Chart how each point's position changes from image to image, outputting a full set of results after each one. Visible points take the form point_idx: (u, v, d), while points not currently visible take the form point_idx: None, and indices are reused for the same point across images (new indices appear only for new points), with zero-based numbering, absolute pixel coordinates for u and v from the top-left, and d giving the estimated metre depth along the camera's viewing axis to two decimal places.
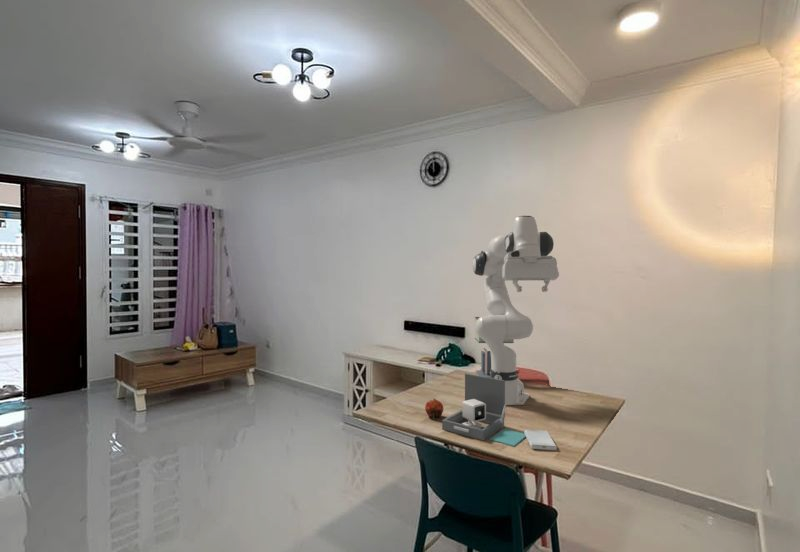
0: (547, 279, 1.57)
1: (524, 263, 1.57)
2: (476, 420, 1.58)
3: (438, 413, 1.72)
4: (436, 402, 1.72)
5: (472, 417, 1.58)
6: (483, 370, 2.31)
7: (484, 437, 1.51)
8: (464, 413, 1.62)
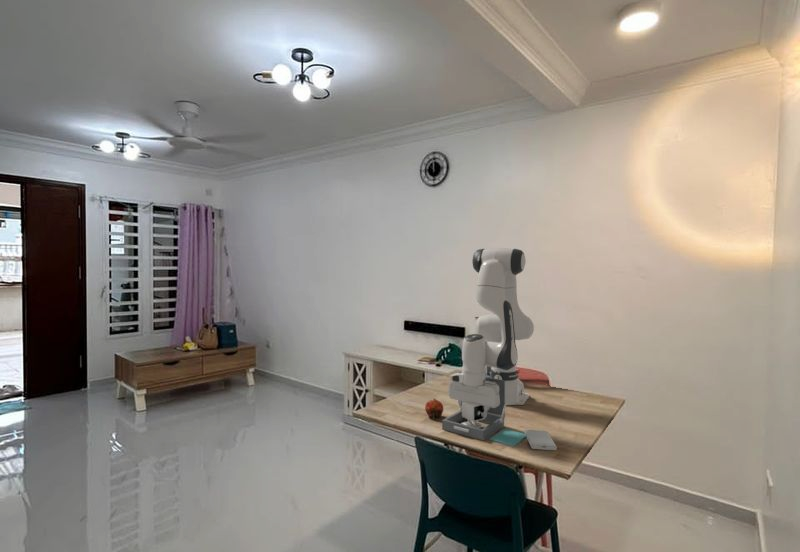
0: (485, 406, 1.58)
1: (465, 387, 1.62)
2: (475, 420, 1.58)
3: (438, 413, 1.72)
4: (436, 402, 1.72)
5: (471, 417, 1.58)
6: None
7: (484, 437, 1.51)
8: (463, 413, 1.62)
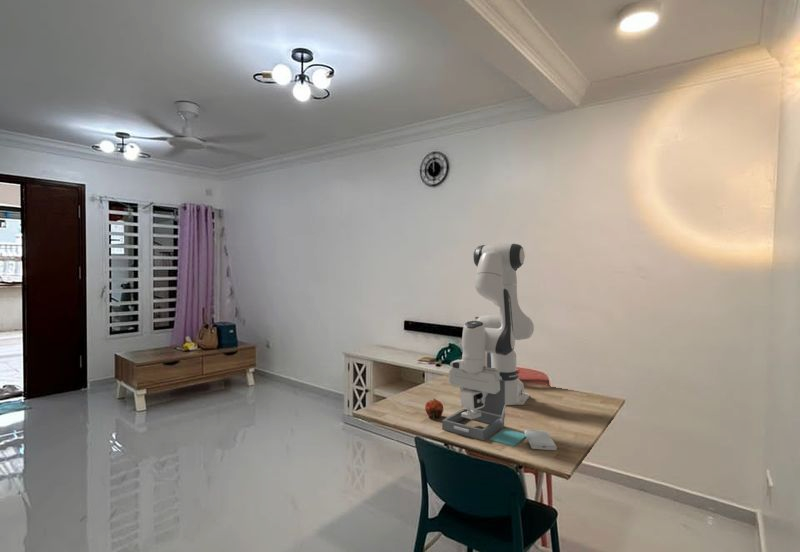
0: (483, 392, 1.59)
1: (466, 374, 1.62)
2: (475, 408, 1.59)
3: (438, 413, 1.72)
4: (436, 402, 1.72)
5: (471, 405, 1.58)
6: None
7: (484, 437, 1.51)
8: (463, 402, 1.62)
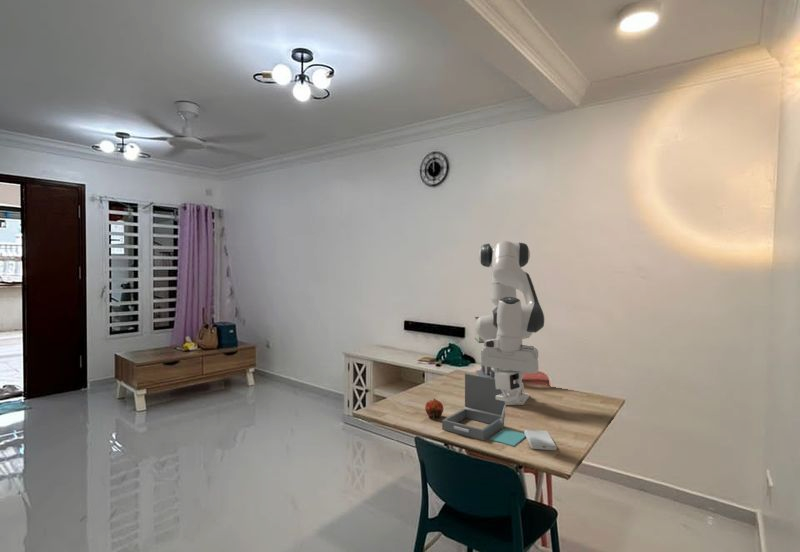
0: (520, 372, 1.49)
1: (501, 353, 1.52)
2: (512, 389, 1.49)
3: (438, 413, 1.72)
4: (436, 402, 1.72)
5: (508, 386, 1.48)
6: (483, 370, 2.31)
7: (484, 437, 1.51)
8: (497, 384, 1.52)
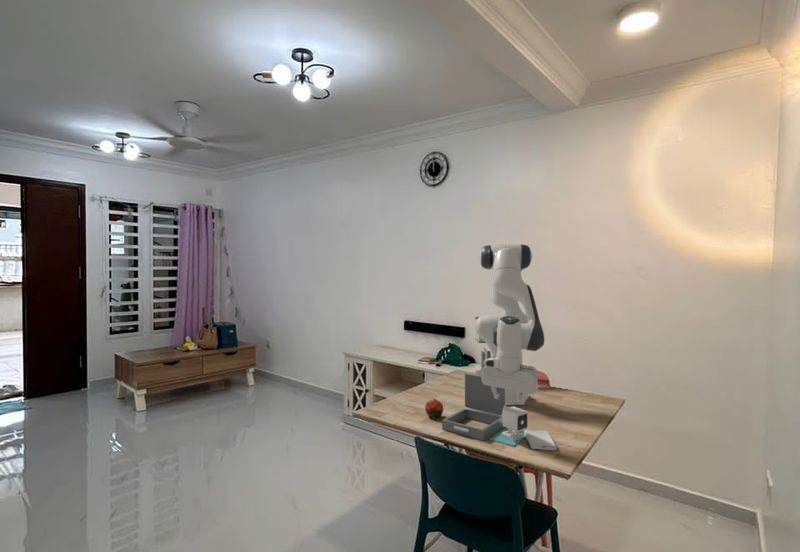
0: (523, 393, 1.48)
1: (500, 372, 1.53)
2: (519, 430, 1.48)
3: (438, 413, 1.72)
4: (436, 402, 1.72)
5: (515, 427, 1.47)
6: None
7: (484, 437, 1.51)
8: (505, 422, 1.51)
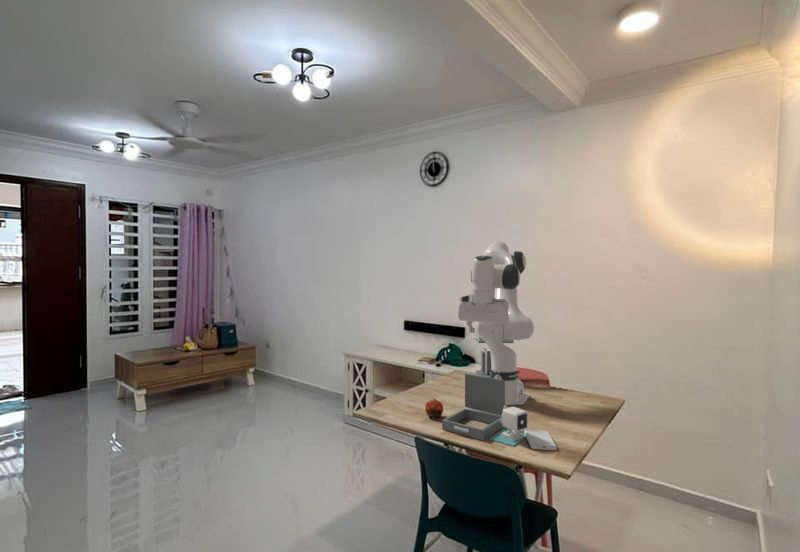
0: (495, 324, 1.60)
1: (475, 307, 1.65)
2: (519, 430, 1.48)
3: (438, 413, 1.72)
4: (436, 402, 1.72)
5: (515, 427, 1.47)
6: (483, 370, 2.31)
7: (484, 437, 1.51)
8: (505, 422, 1.51)
